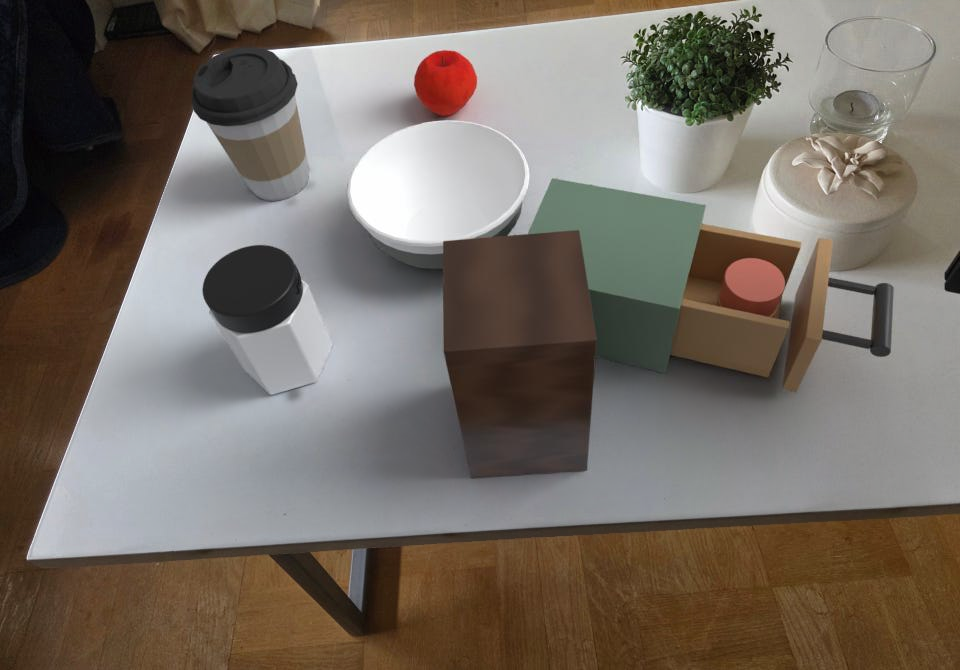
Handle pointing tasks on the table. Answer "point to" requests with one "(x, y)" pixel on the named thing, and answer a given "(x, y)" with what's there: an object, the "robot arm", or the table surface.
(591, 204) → the cabinet
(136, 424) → the table surface
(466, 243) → the block
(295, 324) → the jar
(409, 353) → the table surface
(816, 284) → the drawer
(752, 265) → the red cylinder
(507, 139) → the bowl
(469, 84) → the apple
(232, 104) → the coffee cup
